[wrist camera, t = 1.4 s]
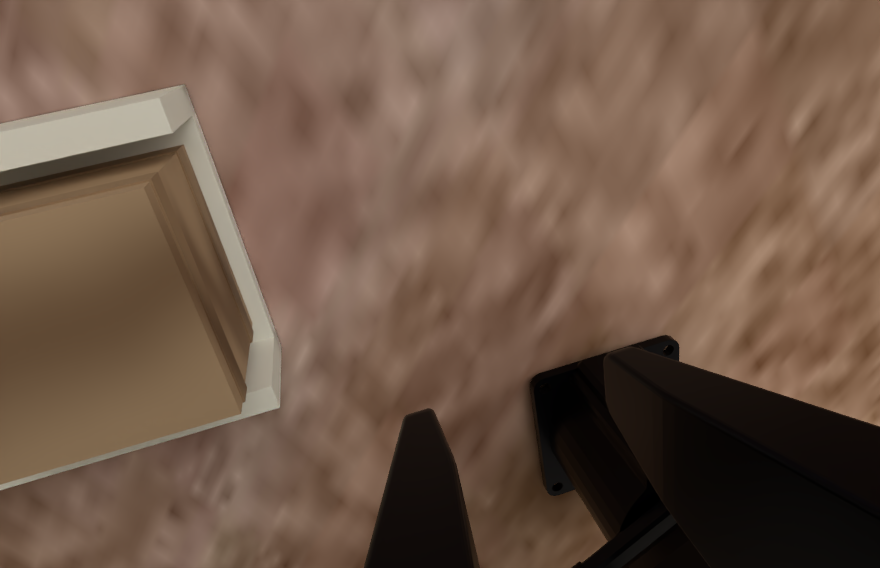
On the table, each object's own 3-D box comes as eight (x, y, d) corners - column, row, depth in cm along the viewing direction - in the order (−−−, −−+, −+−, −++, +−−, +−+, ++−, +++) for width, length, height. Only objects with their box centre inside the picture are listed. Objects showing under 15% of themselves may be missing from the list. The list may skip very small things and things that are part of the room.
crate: (254, 324, 19) (244, 414, 14) (62, 376, 18) (-12, 490, 14) (184, 142, 16) (145, 185, 12) (-45, 194, 15) (-181, 261, 11)
